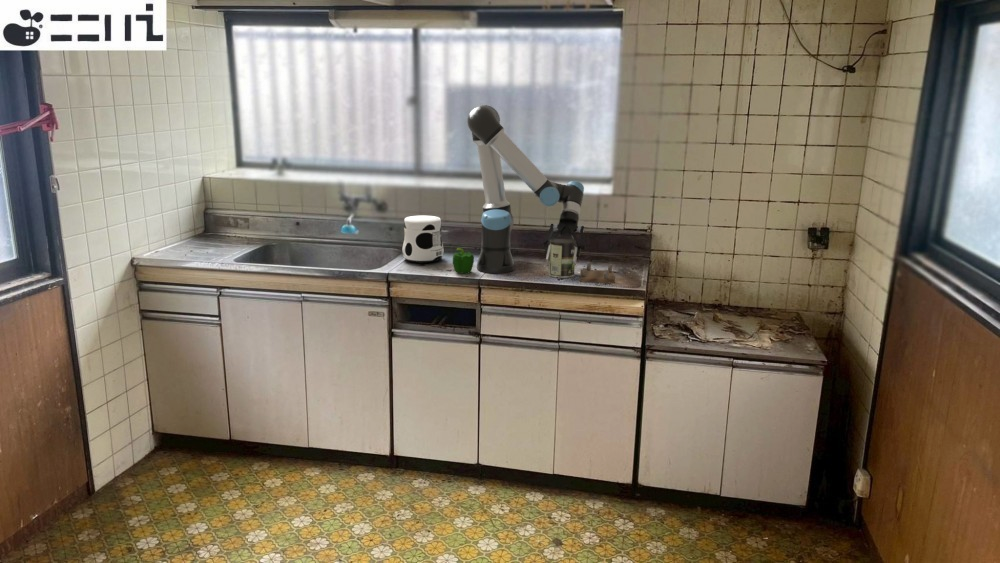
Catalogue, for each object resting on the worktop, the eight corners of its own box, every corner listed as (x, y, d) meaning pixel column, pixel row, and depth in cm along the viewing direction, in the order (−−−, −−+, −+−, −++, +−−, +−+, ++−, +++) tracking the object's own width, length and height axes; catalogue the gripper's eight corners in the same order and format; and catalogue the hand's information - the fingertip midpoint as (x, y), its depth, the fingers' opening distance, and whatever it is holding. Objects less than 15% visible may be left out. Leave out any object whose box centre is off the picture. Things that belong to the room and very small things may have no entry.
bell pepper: (476, 270, 286) (476, 246, 284) (470, 276, 279) (470, 251, 276) (456, 269, 288) (456, 245, 286) (450, 274, 281) (450, 249, 278)
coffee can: (575, 272, 286) (577, 238, 283) (572, 279, 277) (574, 243, 273) (550, 270, 288) (551, 236, 285) (546, 277, 279) (547, 242, 275)
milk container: (403, 255, 309) (402, 215, 305) (443, 255, 311) (442, 214, 306) (401, 265, 293) (401, 222, 288) (444, 265, 295) (443, 222, 290)
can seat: (580, 281, 273) (580, 269, 272) (580, 273, 286) (580, 261, 284) (614, 283, 272) (615, 271, 271) (613, 274, 284) (613, 263, 283)
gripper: (598, 222, 289) (590, 269, 278) (544, 219, 295) (534, 264, 284) (596, 211, 282) (588, 259, 272) (541, 208, 288) (531, 254, 278)
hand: (560, 261), depth 278 cm, fingers closed on coffee can, 10 cm apart
